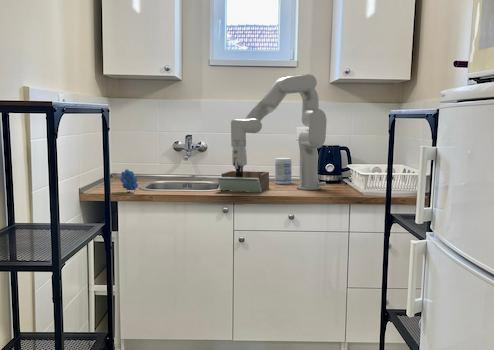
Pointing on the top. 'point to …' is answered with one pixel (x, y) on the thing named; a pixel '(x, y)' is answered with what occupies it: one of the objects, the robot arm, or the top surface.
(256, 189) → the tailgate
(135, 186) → the grapes
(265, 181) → the crate
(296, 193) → the top surface
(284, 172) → the supplement tub
